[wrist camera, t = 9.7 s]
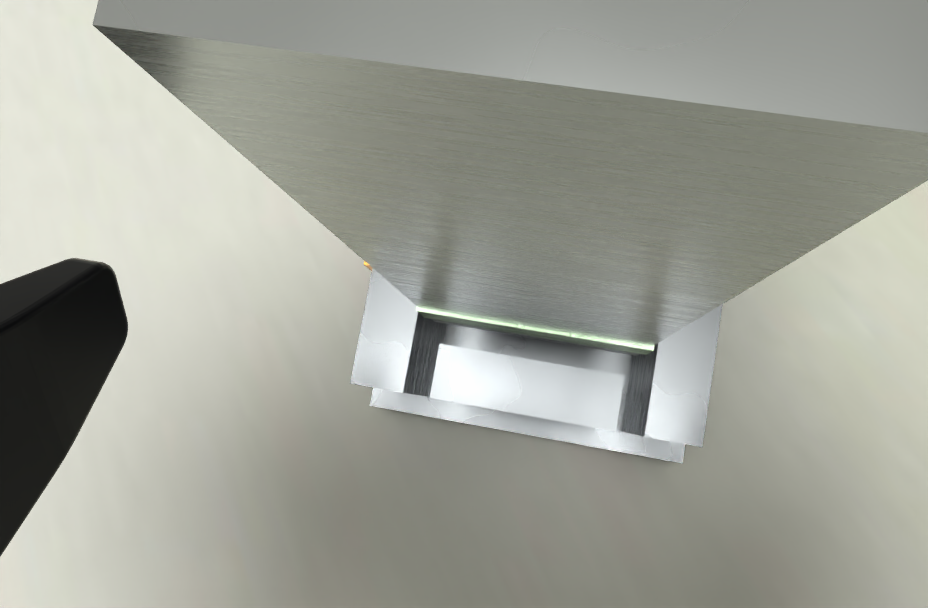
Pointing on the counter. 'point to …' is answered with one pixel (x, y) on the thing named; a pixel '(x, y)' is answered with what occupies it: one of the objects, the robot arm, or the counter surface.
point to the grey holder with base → (538, 379)
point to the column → (559, 140)
